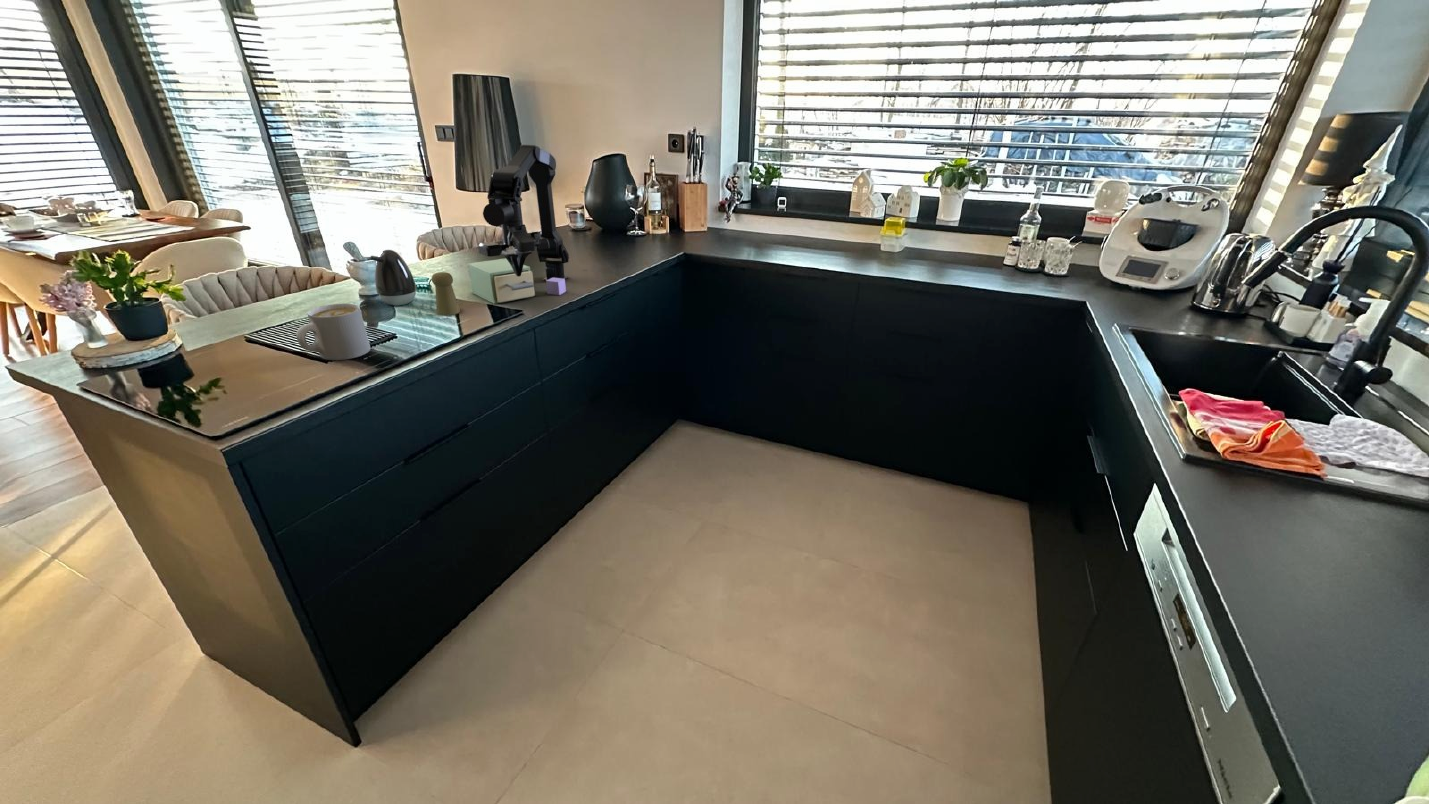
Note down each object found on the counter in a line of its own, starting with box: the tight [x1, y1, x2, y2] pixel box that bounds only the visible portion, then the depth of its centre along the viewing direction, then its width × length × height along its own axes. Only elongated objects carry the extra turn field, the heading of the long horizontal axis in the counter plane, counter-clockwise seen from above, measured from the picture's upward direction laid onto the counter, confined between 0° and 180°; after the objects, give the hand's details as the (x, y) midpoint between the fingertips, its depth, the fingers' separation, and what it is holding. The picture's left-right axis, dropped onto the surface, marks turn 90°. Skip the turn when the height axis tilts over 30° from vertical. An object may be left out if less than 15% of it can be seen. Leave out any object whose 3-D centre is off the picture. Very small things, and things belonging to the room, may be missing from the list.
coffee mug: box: [296, 303, 372, 361], centre depth 124 cm, size 13×10×10 cm
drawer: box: [493, 270, 536, 303], centre depth 167 cm, size 18×11×7 cm, turn 45°
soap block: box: [545, 278, 567, 296], centre depth 175 cm, size 4×4×4 cm
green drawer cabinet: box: [467, 258, 534, 305], centre depth 170 cm, size 15×13×9 cm
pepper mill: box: [431, 271, 461, 316], centre depth 153 cm, size 6×6×11 cm
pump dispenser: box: [369, 249, 418, 306], centre depth 157 cm, size 10×10×15 cm
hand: (518, 276), depth 161 cm, fingers closed
